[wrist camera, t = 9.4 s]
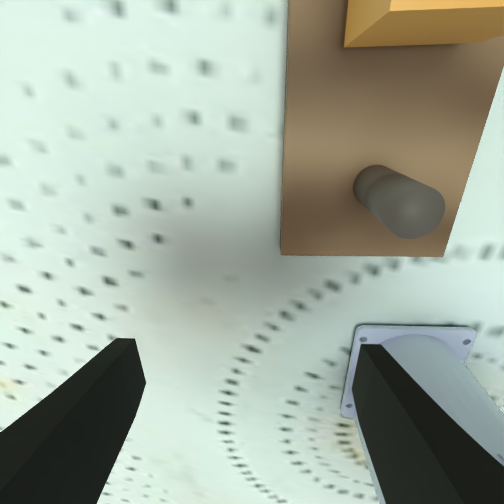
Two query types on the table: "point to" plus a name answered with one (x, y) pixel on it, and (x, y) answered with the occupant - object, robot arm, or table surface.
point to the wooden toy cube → (422, 22)
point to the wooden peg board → (377, 137)
